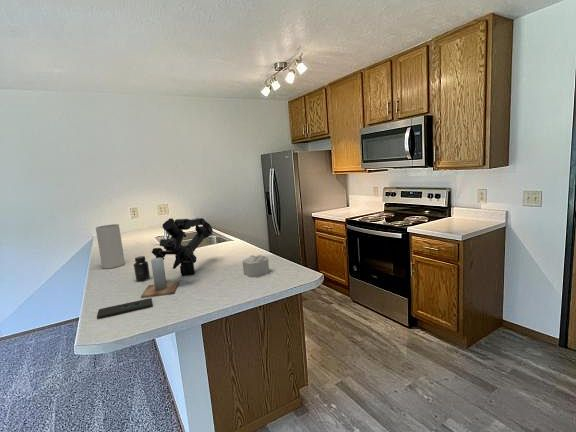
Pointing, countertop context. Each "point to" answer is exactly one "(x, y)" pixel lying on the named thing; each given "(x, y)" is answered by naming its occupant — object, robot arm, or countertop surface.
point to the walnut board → (152, 292)
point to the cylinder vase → (110, 246)
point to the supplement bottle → (141, 269)
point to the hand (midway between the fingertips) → (165, 268)
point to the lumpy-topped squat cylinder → (255, 266)
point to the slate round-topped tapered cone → (158, 273)
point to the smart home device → (124, 308)
